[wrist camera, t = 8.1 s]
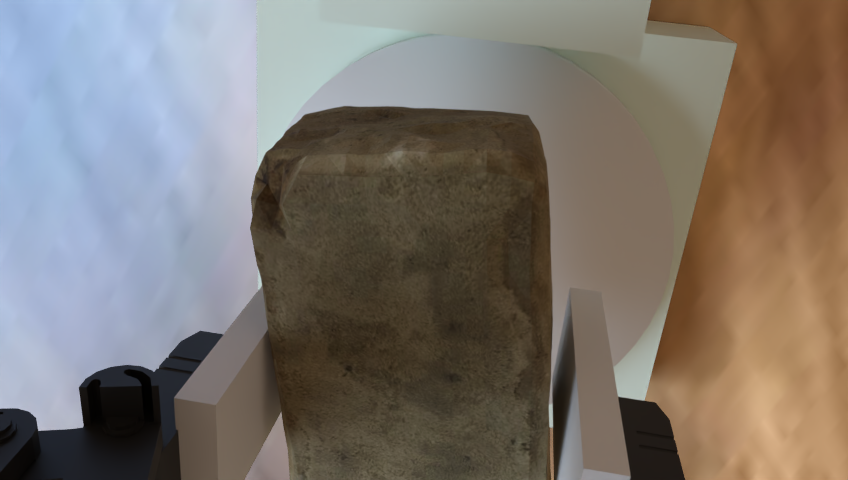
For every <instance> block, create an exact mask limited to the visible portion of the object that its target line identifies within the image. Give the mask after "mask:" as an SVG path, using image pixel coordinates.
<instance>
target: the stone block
mask: <svg viewBox="0 0 848 480" xmlns="http://www.w3.org/2000/svg"><path fill="white" fill-rule="evenodd" d="M251 203H252V213H253V217H252V222H251V226H250V229H251V235H252V240H253V245H254V251H255V256H256V261H257V266H258V269H259V273H260V277H261V281H262V288H263V295H264V303H265V311H266V319H267V326H268V332H269V338H270V345H271V351H272V357H273V364H274V370H275V376H276V382H277V387H278V393H279V398H280V404H281V411H282V418H283V426H284V431H285V436H286V442H287V447H288V456H289V473H290V480H551V472H550V427H549V396H550V383H551V351H552V330H553V307H552V270H551V222H550V203H549V184H548V172H547V162H546V158H545V155H544V150H543V146H542V142H541V137H540V133H539V131H538V129H537V128H536V126H535V125H534V124H533V122H532V120H531V119H530V117H529V115H523V114H515V113H506V112H497V111H482V110H461V109H438V108H409V107H398V106H376V107H356V106H342V107H336V108H331V109H327V110H322V111H318V112H313V113H308V114H305V115H303V117H302V118H301V119H300V120H299V121H298V122H297V123H295V124H294V125H292V126H291V127H290V128H289V129H288V130H287V131H285V133H284V135H283V137H282V138H281V139H280V140H278V141H277V142H276V143H275V145H274V146H273V147H272V148H271V149H270V150H268V151H267V152H266V153H265V155H264V157H263V160H262V162H261V164H260V166H259V169H258V171H257V173H256V176H255V181H254V186H253V191H252V196H251Z"/></svg>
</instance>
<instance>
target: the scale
mask: <svg viewBox="0 0 848 480" xmlns="http://www.w3.org/2000/svg"><path fill="white" fill-rule="evenodd" d="M650 4H651V0H257V171H258V169H259V166H260V164H261V162H262V160H263V157H264V155H265V153H266V152H267V151H268V150H270V149H271V148H272V147H273V146H274V145H275V143H276V142H277V141H278V140H280V139H281V138H282V137H283V135H284V133H285V131H287V130H288V129H289V128H290V127H291V126H292V125H294V124H295V123H297V122H298V121H299V120H300V119H301V118H302V117H303V115H305V114H308V113H313V112H318V111H322V110H327V109H331V108H336V107H342V106H356V107H376V106H398V107H409V108H438V109H461V110H482V111H497V112H506V113H515V114H523V115H529V117H530V119H531V120H532V122H533V124H534V125H535V126H536V128H537V129H538V131H539V133H540V137H541V142H542V146H543V150H544V155H545V158H546V162H547V172H548V184H549V203H550V222H551V270H552V307H553V330H552V351H551V383H550V396H549V427H551V428H553V404H552V377H553V372H554V367H555V362H556V357H557V352H558V346H559V341H560V336H561V331H562V326H563V321H564V315H565V310H566V305H567V300H568V295H569V290H570V287H571V288H578V289H585V290H591V291H598V292H601V294H602V301H603V307H604V313H605V319H606V325H607V332H608V338H609V344H610V350H611V357H612V363H613V369H614V375H615V381H616V388H617V394H618V397H624V398H630V399H636V400H642V401H644V400H645V396H646V392H647V389H648V385H649V381H650V377H651V373H652V369H653V366H654V362H655V358H656V354H657V350H658V346H659V342H660V339H661V335H662V331H663V327H664V323H665V319H666V316H667V312H668V308H669V304H670V300H671V296H672V293H673V289H674V285H675V281H676V277H677V273H678V270H679V266H680V262H681V258H682V254H683V250H684V246H685V243H686V239H687V235H688V231H689V227H690V223H691V220H692V216H693V212H694V208H695V204H696V200H697V197H698V193H699V189H700V185H701V181H702V177H703V174H704V170H705V166H706V162H707V158H708V154H709V150H710V147H711V143H712V139H713V135H714V131H715V127H716V124H717V120H718V116H719V112H720V108H721V104H722V101H723V97H724V93H725V89H726V85H727V81H728V78H729V74H730V70H731V66H732V62H733V58H734V54H735V51H736V47H737V43H735V42H734V41H732V40H730V39H729V38H727V37H725V36H723V35H722V34H720V33H718V32H717V31H715V30H713V29H712V28H710V27H705V26H695V25H686V24H677V23H668V22H659V21H649V20H647V19H648V14H649V9H650ZM261 287H262V281H261V277H260V273H259V269H258V290H259V289H260V288H261Z"/></svg>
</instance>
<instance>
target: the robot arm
mask: <svg viewBox="0 0 848 480" xmlns="http://www.w3.org/2000/svg"><path fill="white" fill-rule="evenodd" d="M79 391H80V399H81V407H82V415H83V423H84V426H83V428H77V429H67V430H48V431H38V428H37V421H36V418H35V417H34V416H33V415H32V414H31V413H30V412H27V411H24V410H20V409H0V480H244V479H245V477H246V475H247V473H248V472H249V470H250V468H251V466H252V464H253V462H254V461H255V459H256V457H257V455H258V453H259V451H260V450H261V448H262V446H263V444H264V442H265V440H266V438H267V437H268V435H269V433H270V431H271V429H272V427H273V426H274V424H275V422H276V420H277V418H278V416H279V414H280V413H281V404H280V398H279V393H278V387H277V382H276V376H275V370H274V364H273V357H272V351H271V345H270V338H269V332H268V326H267V319H266V311H265V303H264V295H263V288H262V287H261V288H260V289H259V290H258V292H257V293H256V294H255V295H254V297H253V298H252V299H251V301H250V302H249V303H248V304H247V306H246V307H245V308H244V309H243V311H242V312H241V313H240V315H239V316H238V317H237V318H236V320H235V321H234V322H233V323H232V325H231V326H230V327H229V329H228V330H227V331H226V332H225V334H224V335H223V334H217V333H211V332H204V331H199V332H197V333H196V334H194V335H192V336H190V337H188V338H186V339H185V340H183V341H181V342H180V343H179V344H178V345H177V347H176V348H175V349H174V350H173V351H172V352H171V353H170V355H169V358H166V359H165V360H164V361H163V362H162V364H161V365H160V366H159V369H156V370H155V372H153V371H152V370H149V369H146V368H144V367H141V366H132V365H123V366H115V367H110V368H107V369H104V370H101V371H98V372H96V373H94V374H93V375H91V376H90V377H88V378H86V379H85V380H84V382H83V383H82V384H81V386H80V387H79ZM552 404H553V453H554V480H685V478H684V474H683V470H682V466H681V462H680V458H679V455H678V454H677V447H676V443H675V440H674V435H673V431H672V427H671V424H670V420H669V418H668V417H667V416H666V415H665V414H664V412H663V411H662V410H661V409H660V408H659V406H658V405H657V404H656V403H655V402H648V401H642V400H636V399H630V398H624V397H618V394H617V388H616V381H615V375H614V369H613V363H612V357H611V350H610V344H609V338H608V332H607V325H606V319H605V313H604V307H603V301H602V294H601V292H598V291H591V290H585V289H578V288H571V287H570V290H569V295H568V300H567V305H566V310H565V315H564V321H563V326H562V331H561V336H560V341H559V346H558V352H557V357H556V362H555V367H554V372H553V377H552Z"/></svg>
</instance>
